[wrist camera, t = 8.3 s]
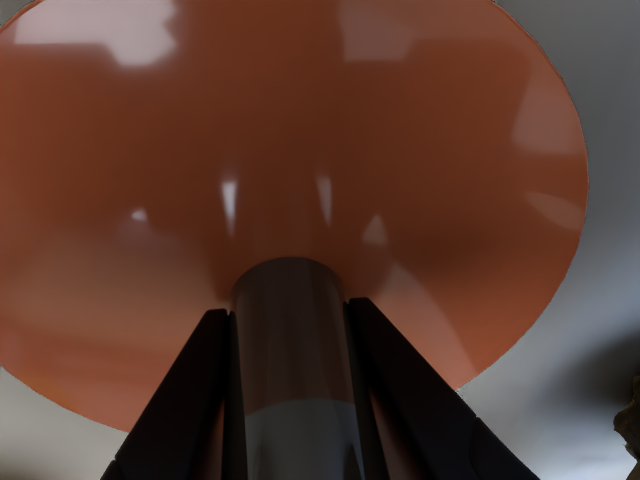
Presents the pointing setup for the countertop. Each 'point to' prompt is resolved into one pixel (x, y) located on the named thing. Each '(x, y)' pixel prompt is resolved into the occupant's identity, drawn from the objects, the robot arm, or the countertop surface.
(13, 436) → the countertop surface
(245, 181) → the lid
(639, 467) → the pottery vessel
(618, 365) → the countertop surface
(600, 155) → the countertop surface
